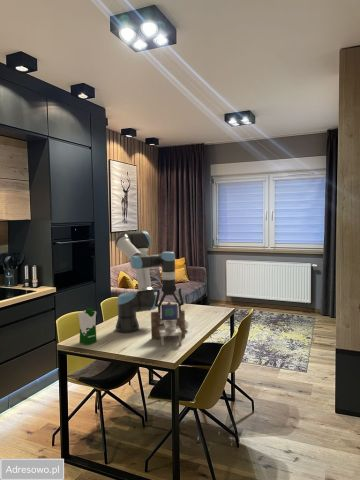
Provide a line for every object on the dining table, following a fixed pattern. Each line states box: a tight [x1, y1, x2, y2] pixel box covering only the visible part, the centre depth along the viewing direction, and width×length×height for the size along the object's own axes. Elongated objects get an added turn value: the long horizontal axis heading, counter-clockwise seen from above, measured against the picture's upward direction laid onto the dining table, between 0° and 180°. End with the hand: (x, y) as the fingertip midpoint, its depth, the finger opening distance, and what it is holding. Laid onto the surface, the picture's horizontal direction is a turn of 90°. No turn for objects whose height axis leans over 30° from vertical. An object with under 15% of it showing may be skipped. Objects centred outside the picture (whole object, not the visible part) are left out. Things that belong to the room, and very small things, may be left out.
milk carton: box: [77, 307, 98, 346], centre depth 213 cm, size 9×9×20 cm
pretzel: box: [185, 318, 190, 331], centre depth 232 cm, size 11×12×9 cm
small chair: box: [150, 309, 186, 348], centre depth 212 cm, size 20×16×16 cm
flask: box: [161, 300, 178, 320], centre depth 210 cm, size 9×3×11 cm, turn 95°
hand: (169, 317), depth 210 cm, fingers closed on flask, 9 cm apart
